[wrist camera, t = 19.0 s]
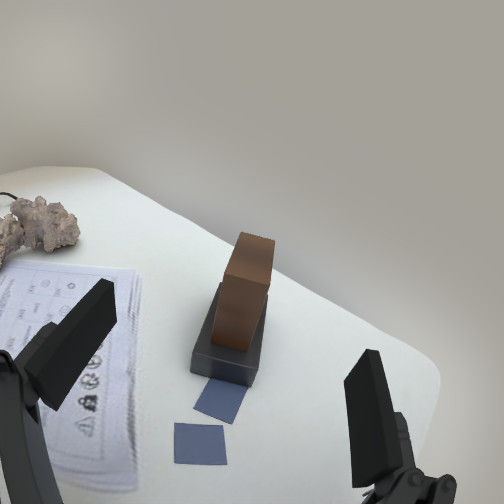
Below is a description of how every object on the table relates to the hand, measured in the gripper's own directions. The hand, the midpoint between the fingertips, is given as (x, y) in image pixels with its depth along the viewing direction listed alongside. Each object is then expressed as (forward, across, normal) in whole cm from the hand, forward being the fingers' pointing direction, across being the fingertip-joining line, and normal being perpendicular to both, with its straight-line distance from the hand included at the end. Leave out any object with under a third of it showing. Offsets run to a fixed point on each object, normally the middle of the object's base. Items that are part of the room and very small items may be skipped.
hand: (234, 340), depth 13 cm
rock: (+11, -26, -9) cm, 30 cm away
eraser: (+9, 0, -9) cm, 12 cm away
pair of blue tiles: (+2, 0, -9) cm, 9 cm away
